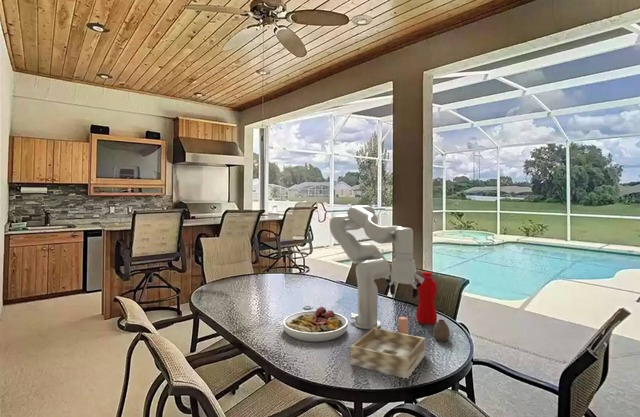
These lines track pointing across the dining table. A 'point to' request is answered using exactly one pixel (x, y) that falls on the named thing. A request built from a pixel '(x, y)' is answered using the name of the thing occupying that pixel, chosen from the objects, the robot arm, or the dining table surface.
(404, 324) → the peg
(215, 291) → the dining table surface
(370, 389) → the dining table surface
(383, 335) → the insert box
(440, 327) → the vase
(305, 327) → the bowl
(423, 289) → the water bottle
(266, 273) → the dining table surface
